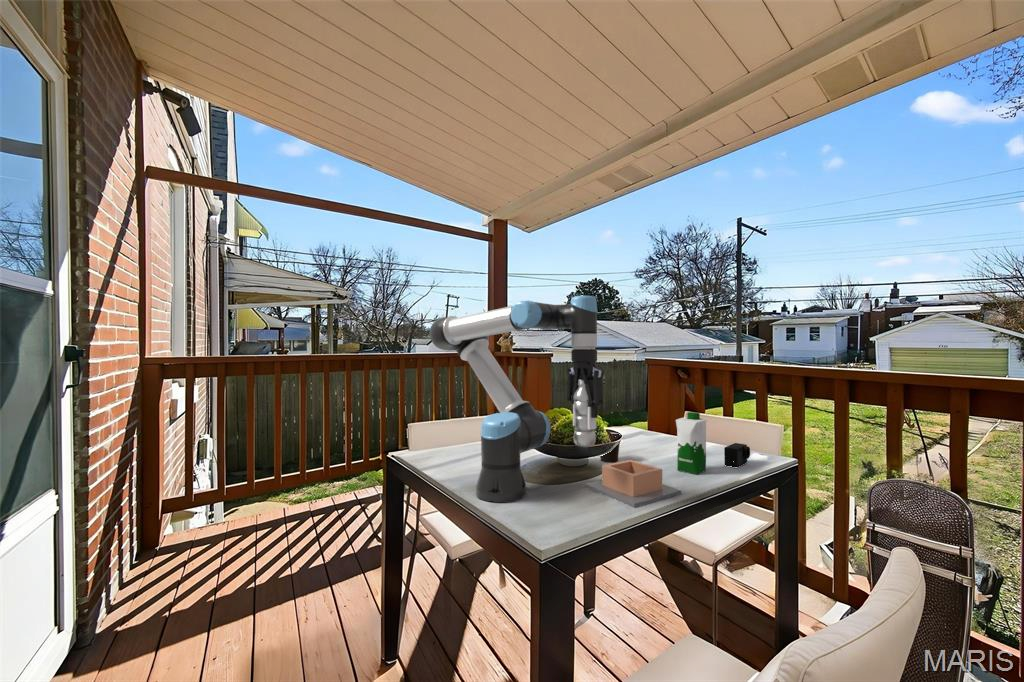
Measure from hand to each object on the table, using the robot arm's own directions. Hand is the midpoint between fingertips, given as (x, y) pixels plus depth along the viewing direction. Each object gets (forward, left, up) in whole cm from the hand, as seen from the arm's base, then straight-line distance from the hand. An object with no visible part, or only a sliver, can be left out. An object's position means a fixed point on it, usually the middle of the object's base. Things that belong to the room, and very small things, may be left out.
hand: (584, 426), depth 126 cm
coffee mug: (+35, +25, -20) cm, 48 cm away
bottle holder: (+15, -4, -20) cm, 26 cm away
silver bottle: (0, 0, -6) cm, 6 cm away
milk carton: (+48, -1, -20) cm, 52 cm away
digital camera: (+69, -6, -20) cm, 72 cm away
